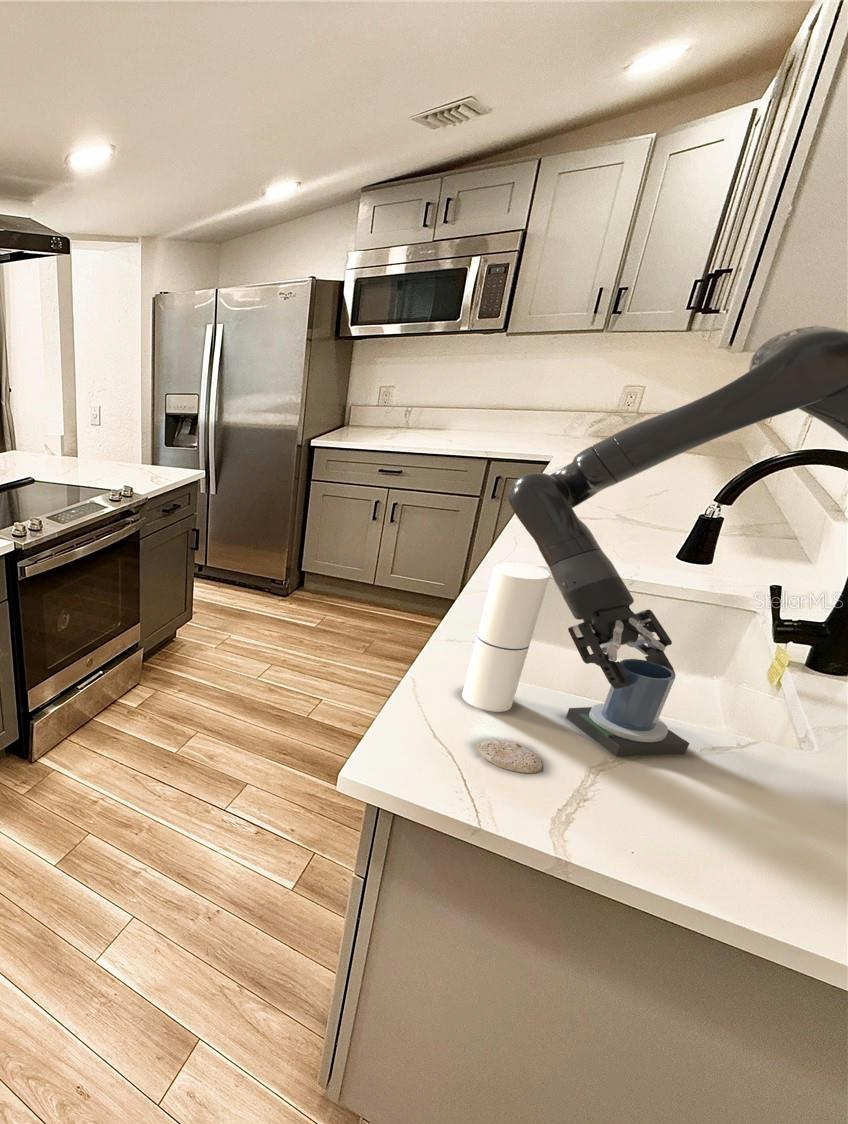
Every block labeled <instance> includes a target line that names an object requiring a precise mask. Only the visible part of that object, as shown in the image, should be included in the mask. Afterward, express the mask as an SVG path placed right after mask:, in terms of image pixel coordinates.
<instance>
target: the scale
mask: <svg viewBox="0 0 848 1124" xmlns="http://www.w3.org/2000/svg"><path fill="white" fill-rule="evenodd" d="M604 704H605V702H604V703H598V704H595V705H592V706H587V707H569V708H568V710H567V713H566V716H565V719H566V720H568V722H570V723H571V724H573V725H574V726H575V727H577V728H578V729H579V730H581V731H582V732H583V733H584V734H586V735H587V736H588V737H590V738H591V739H592V740H594V741H595V742H596V743H598V745H600V746H602V747H603V748H604V749H606V751H608V752H609V753H610V754H612V755H613V756H614V757H617V758H619V757H642V756H644V757H645V756H646V757H647V756H666V755H667V756H669V755H685V754H686V752H687V750H688V748H689V746H690V742H688V741H687V740H685V739H684V738H682V737H681V736H679V735H678V734H676V733H674V732H673V731H672V730H670V729H669V728H668V726H667V725H666V723H665V722H664V721H663V720H661V719H660V718H658V721H657V723H656V725H655V727H654V729H652V730H649V731H637V730H631V729H627V728H624V727H621V726H618V725H616V724H613V723H611V722H610V721H608V720H607V719H605V718H604V717H603V715H602V709H603V706H604Z"/></svg>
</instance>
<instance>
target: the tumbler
mask: <svg viewBox="0 0 848 1124" xmlns="http://www.w3.org/2000/svg"><path fill="white" fill-rule="evenodd" d="M619 662H620V664H621V666H622V668H623V669H624V671H625V673H626V675H627V677H628V678H629V680H630V682H631V685H630V686H626V687H622V688H618V689H615V688H613V687H612V685H611V684H610V687H609V690H608V693H607V695H606V698H605V701H604V703H605V704H604V703H603V704H604V706H603V709H602V715H603V717H604V718H605V719H607V720H608V721H610V722H611V723H613V724H616V725H618V726H621V727H624V728H627V729H631V730H637V731H649V730H652V729H654V727H655V725H656V723H657V721H658V719H660V716H661V713H662V711H663V709H664V706H665V704H666V701H667V700H668V697H669V694H670V692H671V689H672V687H673V684H674V682H675V680H676V676H677V674H676V672H675V671H674V672H675V673H674V672H673V671H672V670H670V669H669V668H667V667H665V666H663V665H660V664H657V663H654V662H650V661H647V660H646V659H638V658H626V659H625V658H624V659H622V660H620V661H619Z"/></svg>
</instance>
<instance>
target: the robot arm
mask: <svg viewBox="0 0 848 1124" xmlns="http://www.w3.org/2000/svg"><path fill="white" fill-rule="evenodd" d="M797 409H798V410H800V411H802V412H804V413H806V414H808V415H809V416H811V417H813V418H815V419H817V420H818V421H820V422H822V423H824V424H825V425H827V426H828V427H830V428H831V429H832V430H834V431H835V432H836V433H838V434H839V435H840V436H841V437H842V438H844V440H846V441H847V442H848V331H847V330H844V329H841V328H835V327H830V326H819V325H816V326H815V325H814V326H805V327H798V328H795V329H790V330H787V331H785V332H782V333H780V334H777V335H775V336H773V337H771V338H769V339H768V340H767V341H765V342H764V343H763V344H762V345H760V346H759V347H758V348H757V349H756V351H755V352H754V354H753V355H752V357H751V360H750V362H749V365H748V371H747V372H745V373H744V374H743V375H741V376H740V377H737V378H736V379H734V380H733V381H731V382H729V383H728V384H726V385H724V386H722V387H721V388H719V389H717V390H715V391H713V392H710V393H709V394H707V395H704V396H702V397H701V398H697V399H696V400H693V401H692V402H691V401H690V402H689V403H687V404H684V405H682V406H679V407H677V408H674V409H671V410H669V411H666V412H663V413H660V414H658V415H655V416H652V417H650V418H647V419H645V420H643V421H640V422H637V423H635V424H633V425H631V426H629V427H626V428H624V429H622V430H620V431H618V432H616V433H614V434H612V435H610V436H608V437H606V438H605V439H602V440H600V441H599V442H596V443H595V444H593V445H590V446H588V447H587V448H585V449H583V450H582V451H580V452H579V453H577V454H576V455H575V456H574V458H573V459H572V462H570V463H569V464H567V465H565V466H564V467H562V468H560V469H558V470H556V471H555V472H553V473H551V474H547V473H545V472H544V473H543V472H530V473H526V474H524V475H522V476H520V477H519V478H517V479H516V480H514V482H513V483H512V484H511V486H510V488H509V490H508V502H509V505H510V507H511V509H512V511H513V512H514V514H515V516H516V517H517V519H518V520H519V522H520V523H521V524H522V526H523V527H524V529H525V530H526V532H528V534H529V535H530V536H531V537H532V539H533V540H534V542H535V544H536V547H537V548H538V550H539V552H540V554H541V556H542V558H543V560H544V562H545V563H546V566H547V567H548V568H549V571H550V574H551V576H552V579H553V582H554V584H555V585H556V587H557V589H558V591H559V593H560V595H561V597H562V598H563V600H564V602H565V604H566V606H567V608H568V609H569V611H570V613H571V615H572V616H573V618H574V619H575V620H577V621H581V620H582V621H583V622H580V623H578V624H574V625H572V626H569V627H568V629H567V631H568V633H569V635H570V637H571V639H572V641H573V643H574V645H575V648H576V650H577V651H578V653H579V655H580V658H581V660H582V662H583V663H585V664H586V665H589V664H595V665H596V666H599V667H600V669H601V671H602V672H603V674H604V676H605V678H606V680H607V682H608V683H609V684H610V686H611V685H612V687H613V688H615V689H618V688H622V687H626V686H630V685H631V682H630V680H629V678H628V677H627V675H626V673H625V671H624V669H623V668H622V666H621V664H620V661H617V660H618V650H619V649H620V648H621V646H625V645H626V646H628V647H629V648H634V649H636V650H638V652H640V653H642V654H643V655H645V656H644V658H645V660H646V661H650V662H654V663H657V664H660V665H663V666H665V667H667V668H669V669H670V670H672V671H673V672H674V673H675V674H676V671H675V670H674V667H673V664H671V662H670V660H669V659H668V657H667V655H666V653H665V651H666V648H667V647H668V646H671V645H672V644H673V641H672V639H671V638H670V636H669V634H668V633H667V632H666V630H665V628H664V627H663V625H662V624H661V623H660V621H659V619H658V618H657V617H656V615H655V614H654V612H653V610H651V609H644V610H641V611H639V612H636V613H635V612H634V611H633V610H632V609H631V608H630V606H631V605H632V604H633V603H634V602H635V599H634V597H633V595H632V594H631V592H630V591H629V589H628V587H627V585H626V584H625V583H624V581H623V579H622V577H621V575H620V574H619V572H618V571H617V568H616V567H615V566H614V564H613V562H612V561H611V559H610V558H609V557H608V556H607V555H606V553H605V552H604V551H603V549H602V548H601V546H600V544H599V543H598V541H597V539H596V538H595V536H594V534H593V532H592V531H591V529H590V528H589V527H588V526H587V525H586V523H584V522H583V521H582V520H581V519H579V517H578V516H577V514H576V512H575V510H574V508H577V506H579V505H581V504H583V503H584V502H586V501H587V500H589V499H591V498H592V497H594V496H595V495H597V494H598V493H600V492H602V491H603V490H605V489H608V488H610V487H612V486H615V485H617V484H619V483H622V482H624V481H626V480H628V479H630V478H633V477H634V476H636V475H639V474H641V473H643V472H645V471H647V470H649V469H652V468H653V467H656V466H658V465H660V464H662V463H664V462H666V461H668V460H671V459H672V458H675V457H677V456H679V455H681V454H684V453H686V452H688V451H690V450H693V449H695V448H697V447H699V446H702V445H704V444H706V443H708V442H711V441H714V440H716V439H718V438H721V437H723V436H727V435H728V434H731V433H733V432H735V431H738V430H741V429H744V428H746V427H749V426H752V425H754V424H757V423H760V422H763V421H765V420H768V419H772V418H774V417H777V416H780V415H783V414H786V413H789V412H791V411H795V410H797ZM654 633H655V634H656V636H657V637H658V639H656V638H655V637H654V636H655V635H654ZM646 644H647V645H646ZM588 647H590V650H591V652H592V653H590V652H589V649H588Z"/></svg>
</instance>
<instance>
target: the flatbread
mask: <svg viewBox="0 0 848 1124" xmlns="http://www.w3.org/2000/svg"><path fill="white" fill-rule="evenodd" d="M476 748H477V749H478V751H479V754H480V755H481V756H482V758H483V759H484V760H485V761H487V762H489V763H491V764H492V765H494V766H496V767H497V768H500V769H503V770H506V771H510V772H514V773H520V774H533V773H538V772H541V771H542V769H543V761H542V759H541V757H540V756H539V755H537V754H536V753H534V752H533V751H531V750H530V749H528V747H525V746H522V745H520V744H518V743H515V742H509V741H501V740H485V741H484V742H481V743H478V744H477V745H476Z"/></svg>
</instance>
